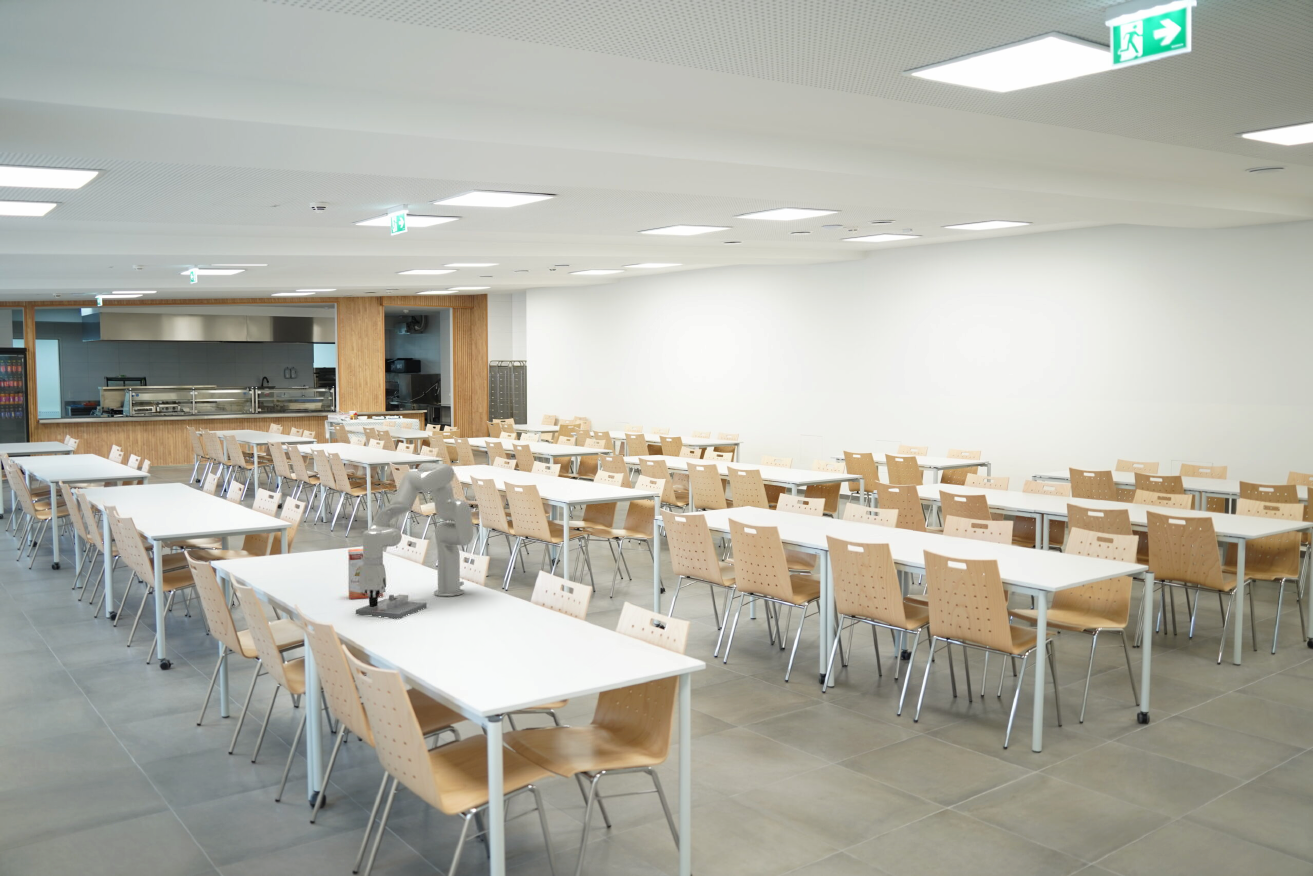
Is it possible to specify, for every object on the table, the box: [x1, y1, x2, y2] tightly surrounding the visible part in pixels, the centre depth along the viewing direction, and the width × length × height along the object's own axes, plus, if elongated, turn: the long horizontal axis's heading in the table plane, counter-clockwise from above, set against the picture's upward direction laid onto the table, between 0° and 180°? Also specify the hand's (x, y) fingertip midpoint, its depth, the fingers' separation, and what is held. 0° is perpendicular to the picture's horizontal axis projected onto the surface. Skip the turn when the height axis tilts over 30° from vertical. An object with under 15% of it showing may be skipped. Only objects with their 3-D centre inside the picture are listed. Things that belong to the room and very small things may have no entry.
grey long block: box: [378, 593, 409, 611], centre depth 399 cm, size 5×16×3 cm, turn 163°
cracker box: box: [347, 548, 384, 600], centre depth 424 cm, size 14×6×21 cm, turn 112°
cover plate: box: [355, 594, 428, 620], centre depth 399 cm, size 20×20×6 cm
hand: (373, 606), depth 394 cm, fingers closed
